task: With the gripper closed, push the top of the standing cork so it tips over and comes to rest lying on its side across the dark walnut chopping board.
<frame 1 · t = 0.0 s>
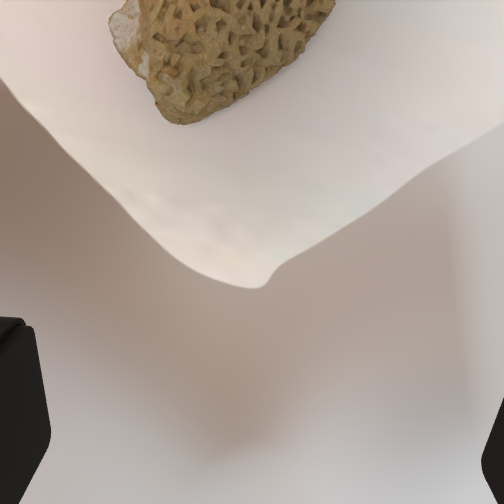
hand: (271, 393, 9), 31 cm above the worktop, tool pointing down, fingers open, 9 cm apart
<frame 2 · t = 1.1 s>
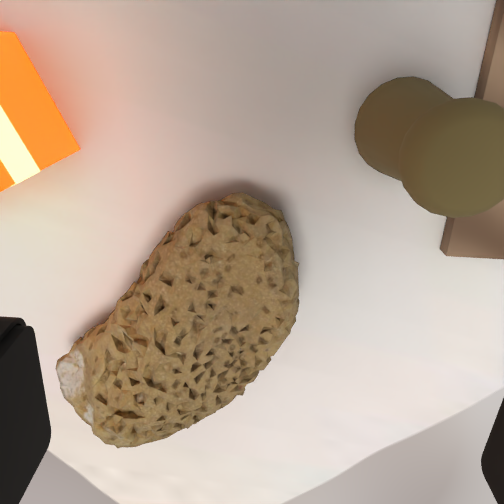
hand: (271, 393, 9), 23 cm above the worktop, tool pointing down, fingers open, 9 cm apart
cork: (401, 127, 29), on the worktop
sponge: (191, 304, 35), on the worktop
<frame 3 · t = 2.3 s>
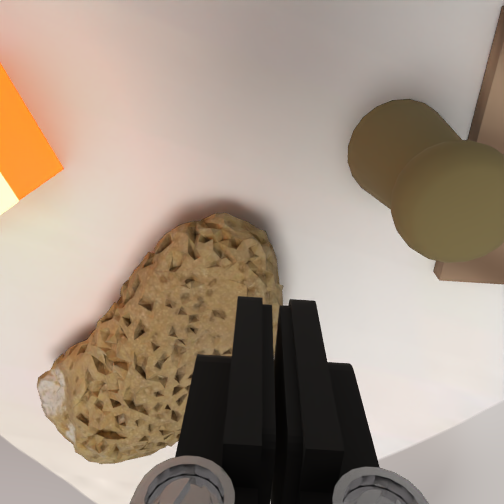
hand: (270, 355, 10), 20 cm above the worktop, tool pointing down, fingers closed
cork: (396, 150, 28), on the worktop
sponge: (175, 319, 34), on the worktop
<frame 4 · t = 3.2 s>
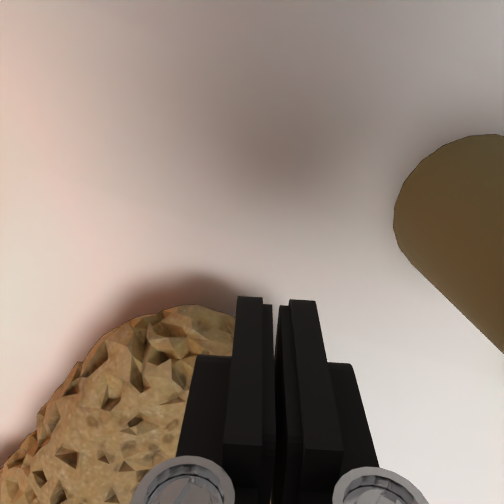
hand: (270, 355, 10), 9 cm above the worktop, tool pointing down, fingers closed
cork: (469, 210, 18), on the worktop
sponge: (133, 430, 24), on the worktop
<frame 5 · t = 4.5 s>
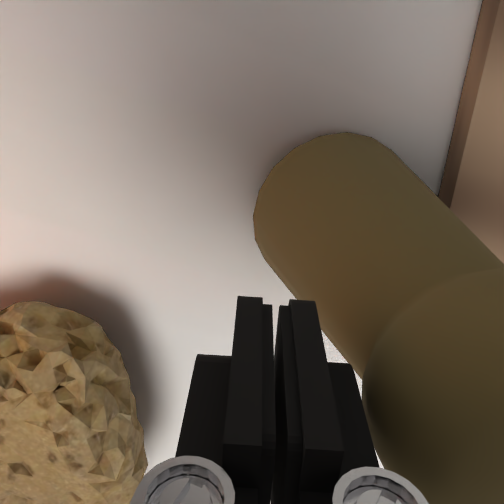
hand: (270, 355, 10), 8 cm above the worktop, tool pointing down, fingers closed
cork: (331, 212, 17), on the worktop
sponge: (18, 432, 24), on the worktop
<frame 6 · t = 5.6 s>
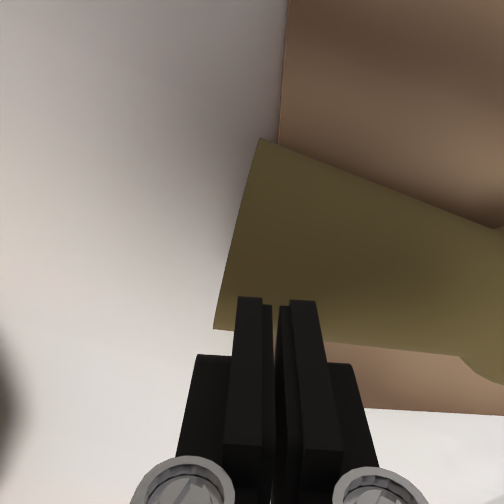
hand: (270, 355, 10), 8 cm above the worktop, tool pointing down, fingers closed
cork: (230, 232, 14), point 3 cm above the worktop, touching walnut board
walnut board: (442, 227, 18), on the worktop
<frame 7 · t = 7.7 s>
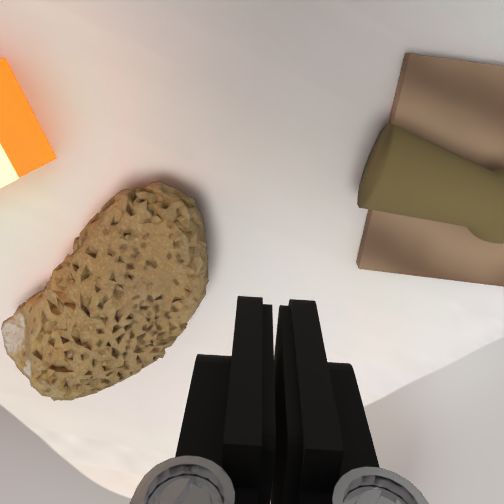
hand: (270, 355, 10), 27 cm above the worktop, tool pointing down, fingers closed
cork: (371, 165, 32), point 3 cm above the worktop, touching walnut board
sponge: (124, 278, 40), on the worktop
walnut board: (462, 178, 35), on the worktop
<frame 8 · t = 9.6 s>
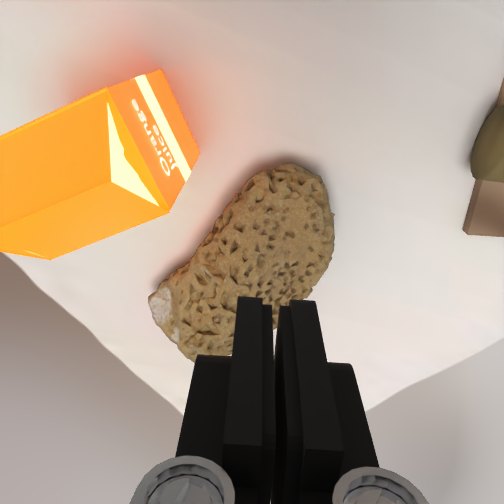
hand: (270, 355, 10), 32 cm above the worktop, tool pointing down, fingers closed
orange juice: (137, 132, 40), on the worktop
cork: (488, 141, 37), point 3 cm above the worktop, touching walnut board
sponge: (247, 252, 45), on the worktop
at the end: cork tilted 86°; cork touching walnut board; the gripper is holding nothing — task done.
